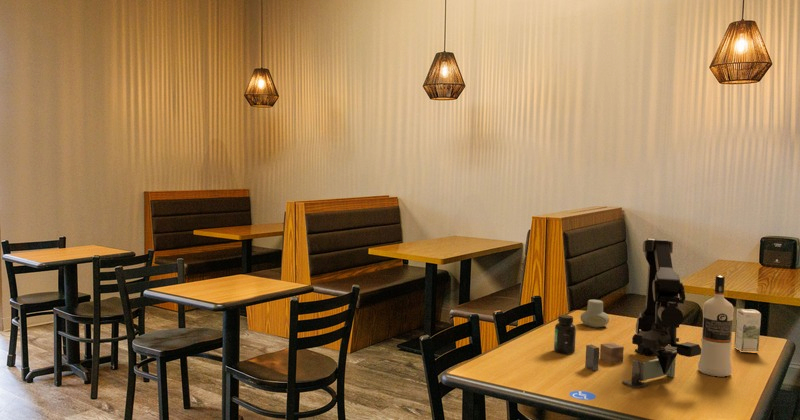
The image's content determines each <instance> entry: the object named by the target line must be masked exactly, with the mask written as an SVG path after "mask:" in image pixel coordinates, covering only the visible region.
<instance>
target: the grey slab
mask: <svg viewBox="0 0 800 420" xmlns="http://www.w3.org/2000/svg"><path fill="white" fill-rule="evenodd" d="M676 358H677V356H676V357H675V359H674V360H673V362H672V364H671V366H670V368H669V370H668V371H667V373H666V374H663V371H662V368H661V365H660V362H659V360H658V358H655V359H649V360H645V361H642V362H641V361H640V374H639V381H641V382H643V381H647V380H652V379H656V378H659V377H664V376H667V377H670V378H673V377H675V374H676V373H675V372H676V360H677V359H676Z"/></svg>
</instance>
